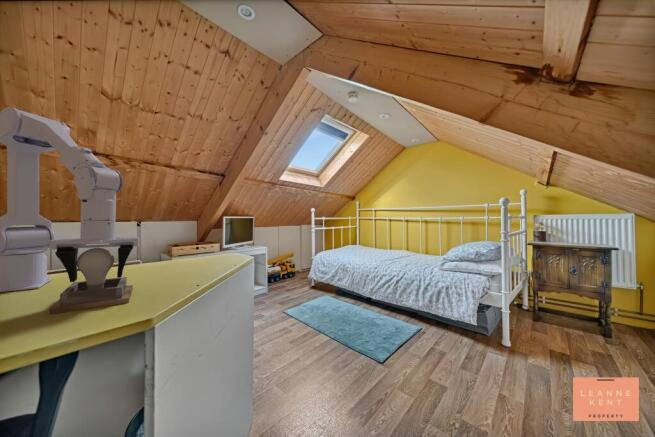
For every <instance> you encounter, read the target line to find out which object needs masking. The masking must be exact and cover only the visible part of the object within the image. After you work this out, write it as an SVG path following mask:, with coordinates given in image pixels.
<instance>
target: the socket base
mask: <svg viewBox="0 0 655 437" xmlns="http://www.w3.org/2000/svg"><path fill="white" fill-rule="evenodd" d="M127 281H128V280H127V276H124V277H123V276H122V277H119V278H117V277H114V278H106V280H105V283H104V288H101V289H92V290H88V285H86V280H84V281H83V280H82V281H75V282H71V284H70V285H69V286H67V288H65V289H64V290H63V291H61V293H60V294H59V299H58V300H57V301H56V302H55V303H54V304H53V305H52V306H51V307H50V308H49V309H48V315H53V314H60V313H68V312H72V311H73V312H74V311H81V310H87V309H93V308H102V307H107V306H115V305H122V304H129V302H130V300H131V297H132V293H133V290H134V285H132V284H130V285H129V284H127Z"/></svg>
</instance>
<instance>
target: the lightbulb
mask: <svg viewBox="0 0 655 437" xmlns="http://www.w3.org/2000/svg"><path fill="white" fill-rule="evenodd" d="M114 262H115V257H114V254H113V253H112V252H111V251H110V250H108V249H105V248H104V247H94V248H88V249H87V250H85V251H83V252H82V253H81V254H79V256H77V269H78V270H79V271H80V273H81V274H82V275H83V277H84V279H85V281H86V285H88V290H92V289H101V288H104V283H105V280H106V279H107V276H108V273H109V272H110V270H111V269H112V267H113V265H114Z"/></svg>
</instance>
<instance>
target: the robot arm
mask: <svg viewBox="0 0 655 437" xmlns="http://www.w3.org/2000/svg"><path fill="white" fill-rule="evenodd" d="M70 132H71V130H70V127H69V126H68V125H67V124H66V123H64V122H63V121H60V120H55V119H51V118H47V117H45V116H41V115H37V114H35V113H30V112H27V111H23V110H21V109H17V108H16V107H13V106H7V107H6V108H5V107H4V108H3V109H2V110H1V111H0V143H1V145H2V144H3V145H4V146H6V159H7V160H6V167H7V170H6V171H7V174H6V176H7V178H6V179H7V183H6V184H7V186H6V187H7V189H6V190H7V192H6V193H7V196H6V200H7V202H6V203H7V204H6V207H7V209H6V210H7V211H6V213H5V214H4V215H1V216H0V293H3V292H5V293H6V292H12V291H13V292H14V291H23V290H33V289H39V288H41V287H43V286H44V285H45V284H46V283H48V282H50V281H51V280H53V277H48V256H47V255H46V253H45V252H48V251H49V250H50V251H51V250H54V251H56V252H55V256H56V257H57V258H58V260H59V261H60V262H61V263H62V265H63V267H64V269H65V271H66V273H67V275H68V280H69V283H73V282H77V281H78V267H77V259H78V254H79V249H93V248H112V247H113V248H116V247H117V258H118V259H117V261H118V262H117V263H118V265H117V273H116V275H117V276H116V278H122V277H123V272H124V268H125V265H126V263H127V259H128V258H129V255H130V254H131V252H132V250H133V249H134V247H139V246H140V238H139V237H116V224H117V223H116V220H117V219H116V218H117V217H116V216H117V214H116V213H117V194H118V193H120V191H121V190H122V189H123V187H124V178H123V175H122V173H120V171H119V170H117V169H113V168H110V167H107V166H106V165H105V164H104V163H103V162H102V160H101V161H100V159H98V158H97V156H96V155H94V154H93V151H92V150H91V149H90V148H88V147H83V146H78V144H77V143H76V141H75V140H73V138H72V137H71V136H70ZM54 150H56V151H57V153H59V158H58V159H59V160H60V162H61V163H62V164H63V166H64V167H66V169H67V170H68V171H69V172H70V173H71V174H72V175H73V176H74V177H73V183H74V187H75V188H76V191H77V197H78V199H80V234H79V237H80V238H64V239H63V238H62V239H61V238H58V239H56V234H55V232H54V229H53V222H52V221H51V220H49V219H47V218H45V217H43V216H42V215H40V155H41V154H43V153H50V152H53V151H54ZM13 226H14V227H13Z"/></svg>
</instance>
